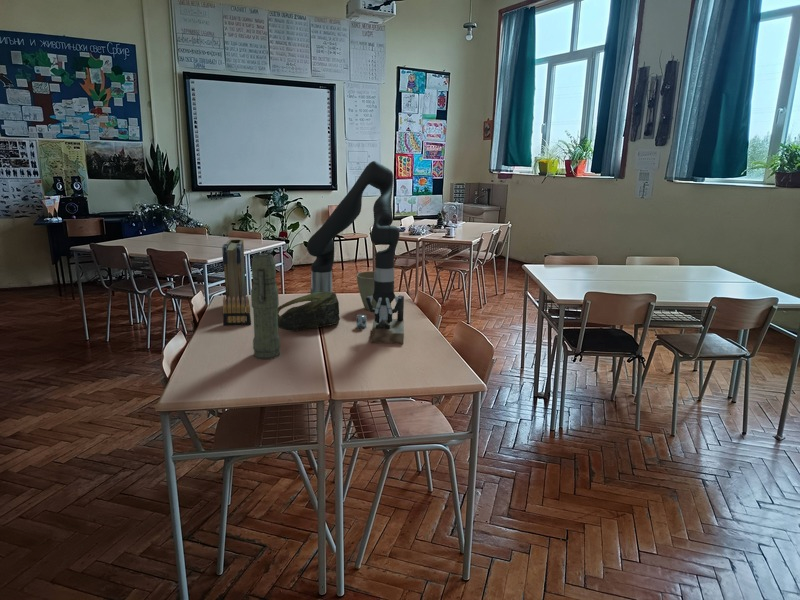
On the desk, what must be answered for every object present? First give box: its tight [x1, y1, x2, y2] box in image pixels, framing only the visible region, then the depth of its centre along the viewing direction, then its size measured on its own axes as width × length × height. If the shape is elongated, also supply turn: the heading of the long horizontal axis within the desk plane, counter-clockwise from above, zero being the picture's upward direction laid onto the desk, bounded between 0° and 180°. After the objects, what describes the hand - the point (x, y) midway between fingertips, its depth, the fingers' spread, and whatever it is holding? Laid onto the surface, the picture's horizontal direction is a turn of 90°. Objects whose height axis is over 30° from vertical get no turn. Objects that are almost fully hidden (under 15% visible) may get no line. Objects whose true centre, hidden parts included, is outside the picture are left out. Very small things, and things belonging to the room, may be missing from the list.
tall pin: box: [378, 305, 389, 329], centre depth 201 cm, size 4×4×10 cm
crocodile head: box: [277, 291, 341, 332], centre depth 211 cm, size 27×17×15 cm
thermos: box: [250, 252, 281, 360], centre depth 177 cm, size 9×12×35 cm
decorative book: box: [221, 239, 247, 312], centre depth 229 cm, size 23×7×30 cm, turn 12°
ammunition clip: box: [222, 295, 252, 327], centre depth 210 cm, size 11×2×12 cm, turn 99°
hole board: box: [370, 294, 405, 345], centre depth 203 cm, size 12×18×14 cm, turn 0°
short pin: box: [356, 314, 368, 330], centre depth 212 cm, size 4×4×5 cm
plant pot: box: [356, 270, 377, 311], centre depth 238 cm, size 15×15×16 cm
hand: (383, 322), depth 202 cm, fingers closed on tall pin, 4 cm apart
